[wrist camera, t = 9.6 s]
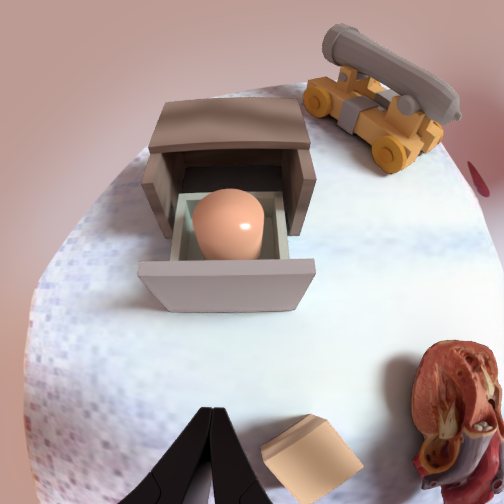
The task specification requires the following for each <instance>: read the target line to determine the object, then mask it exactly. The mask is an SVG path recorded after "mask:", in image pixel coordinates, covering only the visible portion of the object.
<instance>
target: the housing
mask: <svg viewBox="0 0 504 504" xmlns="http://www.w3.org/2000/svg"><path fill="white" fill-rule="evenodd" d="M310 143H311V142H310V139H309V135H308V132H307V129H306V125H305V122H304V119H303V116H302V112H301V109H300V106H299V103H298V100H297V99H290V98H263V97H237V98H211V99H196V100H185V101H175V102H167V103H165V105H164V107H163V110H162V112H161V115H160V117H159V120H158V122H157V125H156V127H155V130H154V133H153V135H152V138H151V141H150V143H149V146H148V148H149V152H150V156H149V160H148V163H147V166H146V169H145V172H144V176H143V179H142V182H141V185H142V187H143V189H144V192H145V194H146V196H147V199H148V201H149V203H150V206H151V208H152V210H153V212H154V215H155V217H156V219H157V221H158V223H159V226H160V228H161V230H162V232H163V234H164V236H165V238H172V237H173V230H174V223H175V216H176V210H177V203H178V197H179V194H181V191H182V185H183V180H184V174H185V169H186V167H203V166H231V165H281V171H282V179H283V186H284V193H285V201H286V209H287V217H288V226H289V234H290V236H300V232H301V229H302V226H303V223H304V220H305V216H306V213H307V210H308V207H309V203H310V200H311V197H312V193H313V190H314V186H315V183H316V180H317V179H316V175H315V171H314V167H313V163H312V159H311V155H310V152H309V148H310Z"/></svg>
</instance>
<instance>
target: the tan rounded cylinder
mask: <svg viewBox="0 0 504 504" xmlns="http://www.w3.org/2000/svg"><path fill="white" fill-rule="evenodd" d="M192 222H193V227H194V230H195V234H196V237H197V240H198V244H199V247H200V250H201V254H202V257H203V260H204V261H208V260H260V255H261V245H262V235H263V225H264V211H263V208H262V206H261V204H260V203H259V201H258V200H257V199H256V198H255V197H254V196H252V195H251V194H249V193H247V192H245V191H242V190H238V189H222V190H217V191H214V192H212V193H210V194H208V195H207V196H205V197H204V198H203V199H201V200H200V202H199V203H198V204H197V205H196V207H195V209H194V212H193V216H192Z"/></svg>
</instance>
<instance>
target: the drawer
mask: <svg viewBox="0 0 504 504" xmlns="http://www.w3.org/2000/svg"><path fill="white" fill-rule="evenodd" d="M210 193H212V192H209V193H185V194H179V197H178V203H177V210H176V216H175V223H174V230H173V237H172V245H171V253H170V261H140V262H139V268H138V275H137V276H138V277H139V278H140V279H141V280H142V282H143V283H144V284H145V285H146V286H147V287H148V289H149V290H150V291H151V292H152V293H153V294H154V295H155V296H156V298H157V299H158V300H159V301H160V302H161V303H162V304H163V305H164V306H165V307H166V309H167V310H168V311H169V312H261V311H289V310H295V309H296V307H297V306H298V304H299V302H300V300H301V299H302V297H303V295H304V294H305V292H306V290H307V288H308V287H309V285H310V283H311V281H312V280H313V278H314V276H315V274H316V270H315V262H314V259H290V257H289V248H288V238H287V229H286V220H285V212H284V203H283V195H282V192H247V193H249V194H251V195H252V196H254V197H255V198H256V199H257V200H258V201H259V203H260V204H261V206H262V208H263V211H264V225H263V235H262V245H261V255H260V260H208V261H204V260H203V257H202V254H201V250H200V247H199V244H198V240H197V237H196V234H195V230H194V227H193V222H192V216H193V212H194V209H195V207H196V205H197V204H198V203H199V202H200V200H201V199H203V198H204V197H205V196H207V195H208V194H210Z"/></svg>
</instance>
